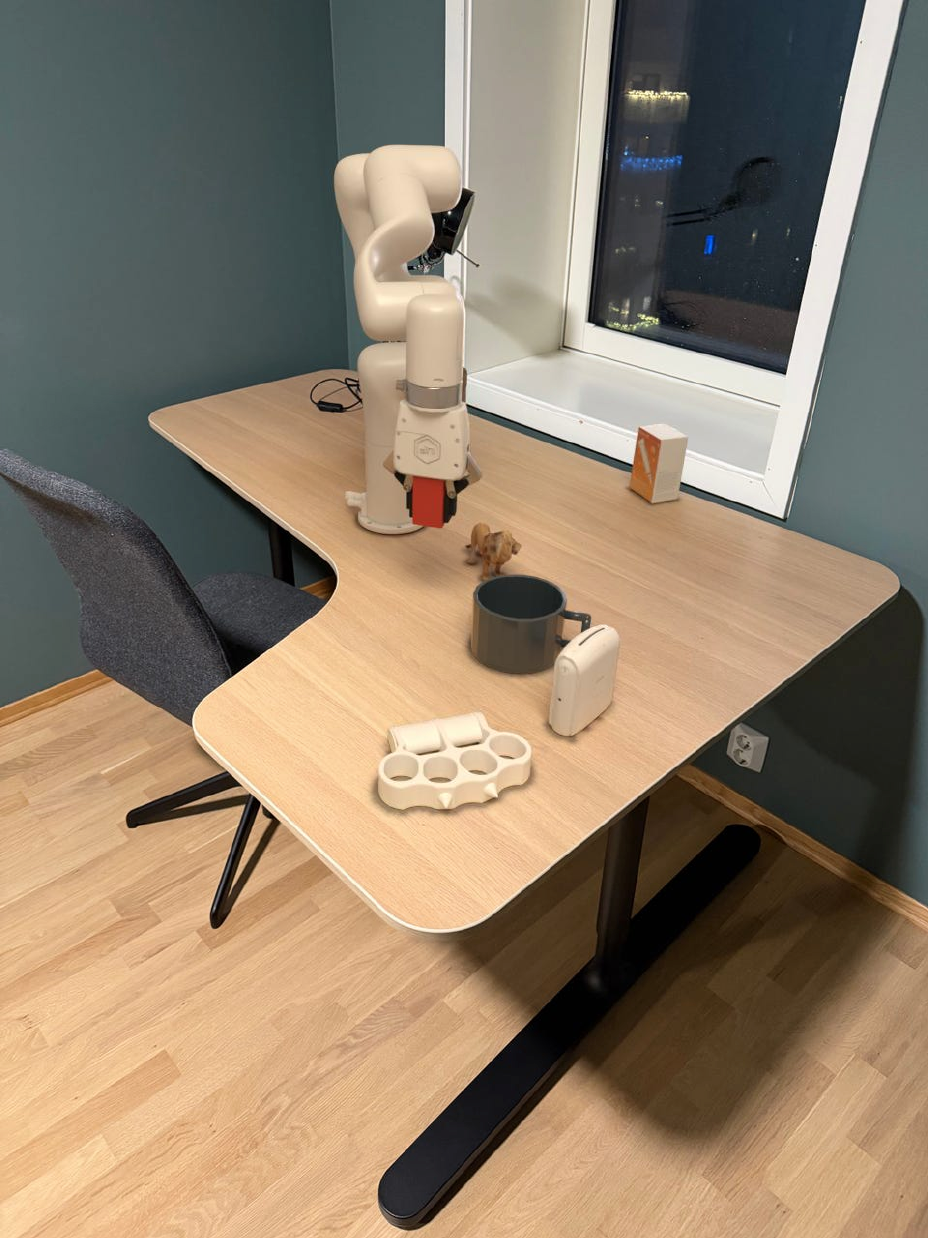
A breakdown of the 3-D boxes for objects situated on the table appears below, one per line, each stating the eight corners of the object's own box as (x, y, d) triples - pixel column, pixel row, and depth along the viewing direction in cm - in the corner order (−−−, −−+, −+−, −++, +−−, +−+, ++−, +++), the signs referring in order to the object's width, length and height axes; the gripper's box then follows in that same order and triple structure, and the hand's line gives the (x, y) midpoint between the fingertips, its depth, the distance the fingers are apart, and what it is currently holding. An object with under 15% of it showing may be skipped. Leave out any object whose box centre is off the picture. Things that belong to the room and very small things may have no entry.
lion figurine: (522, 584, 141) (526, 534, 136) (493, 591, 139) (496, 540, 134) (478, 547, 152) (480, 498, 147) (451, 552, 150) (452, 504, 145)
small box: (628, 488, 176) (637, 425, 170) (655, 484, 179) (665, 422, 172) (651, 504, 170) (661, 439, 163) (678, 499, 172) (689, 436, 166)
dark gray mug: (461, 665, 121) (463, 612, 116) (482, 618, 132) (485, 568, 127) (579, 685, 118) (586, 632, 113) (591, 636, 128) (598, 585, 124)
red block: (412, 524, 126) (412, 475, 122) (420, 511, 130) (421, 464, 126) (441, 528, 125) (443, 480, 121) (449, 516, 129) (451, 468, 125)
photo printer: (571, 742, 107) (581, 658, 101) (542, 727, 110) (551, 644, 103) (615, 705, 114) (628, 624, 108) (588, 691, 117) (598, 611, 110)
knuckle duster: (501, 720, 111) (547, 798, 99) (360, 747, 105) (392, 832, 94) (502, 699, 109) (549, 775, 97) (360, 724, 104) (391, 808, 92)
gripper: (364, 393, 116) (367, 518, 126) (489, 409, 113) (481, 536, 123) (383, 377, 122) (384, 498, 132) (501, 391, 119) (493, 514, 129)
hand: (431, 515), depth 127 cm, fingers closed on red block, 4 cm apart
